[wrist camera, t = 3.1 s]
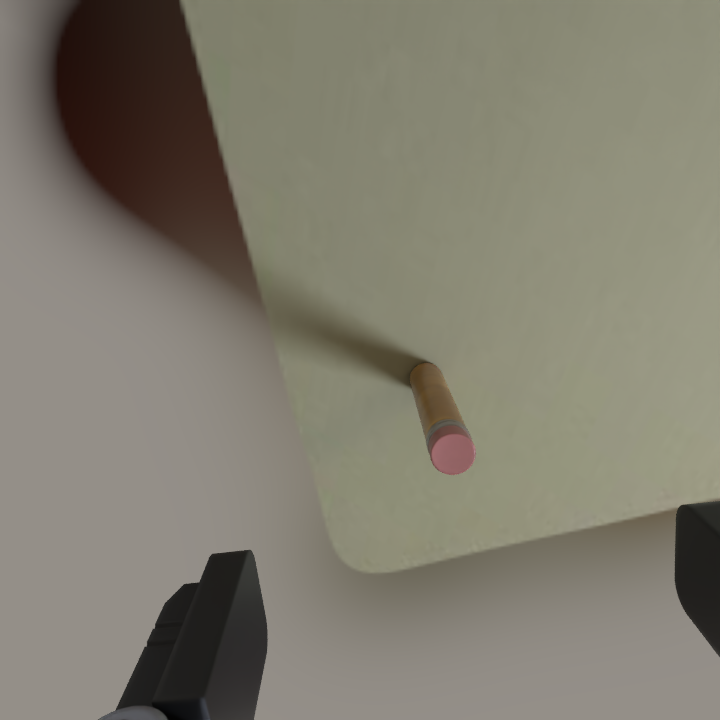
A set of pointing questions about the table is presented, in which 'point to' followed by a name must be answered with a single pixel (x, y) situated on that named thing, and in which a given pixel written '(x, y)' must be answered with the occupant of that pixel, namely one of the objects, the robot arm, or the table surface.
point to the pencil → (441, 421)
